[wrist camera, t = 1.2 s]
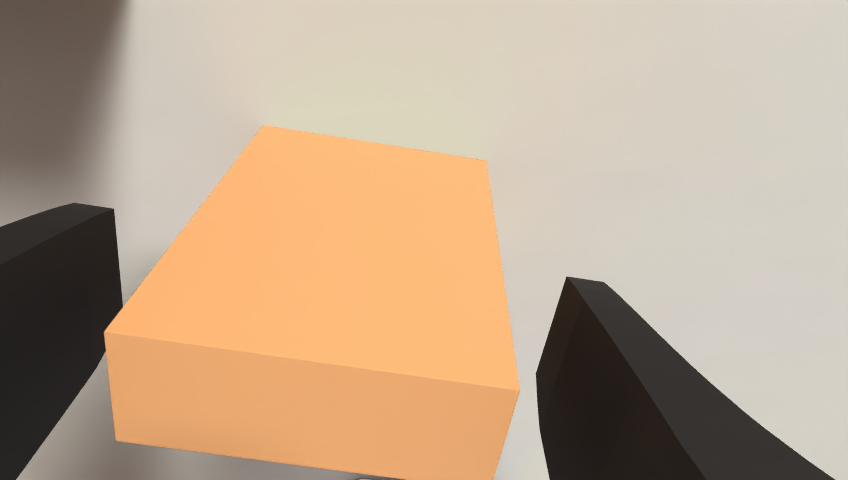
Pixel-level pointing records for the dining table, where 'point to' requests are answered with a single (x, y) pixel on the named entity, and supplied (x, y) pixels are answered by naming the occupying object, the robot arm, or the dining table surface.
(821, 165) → the dining table surface
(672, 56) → the dining table surface
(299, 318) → the orange tile
